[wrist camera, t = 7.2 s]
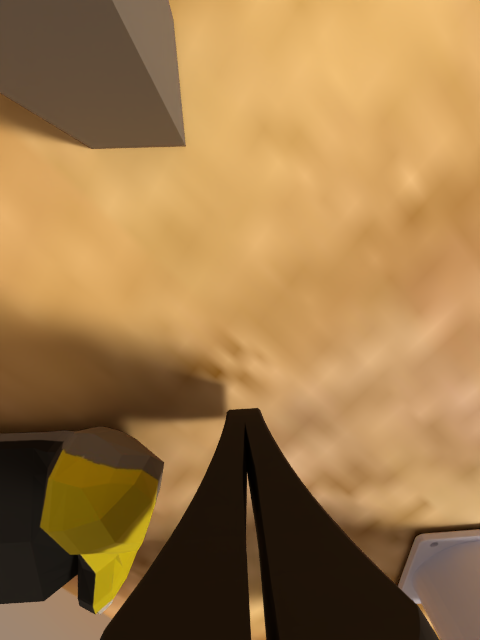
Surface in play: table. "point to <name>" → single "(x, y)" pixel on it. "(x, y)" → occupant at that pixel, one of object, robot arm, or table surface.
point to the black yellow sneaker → (73, 512)
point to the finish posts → (95, 69)
